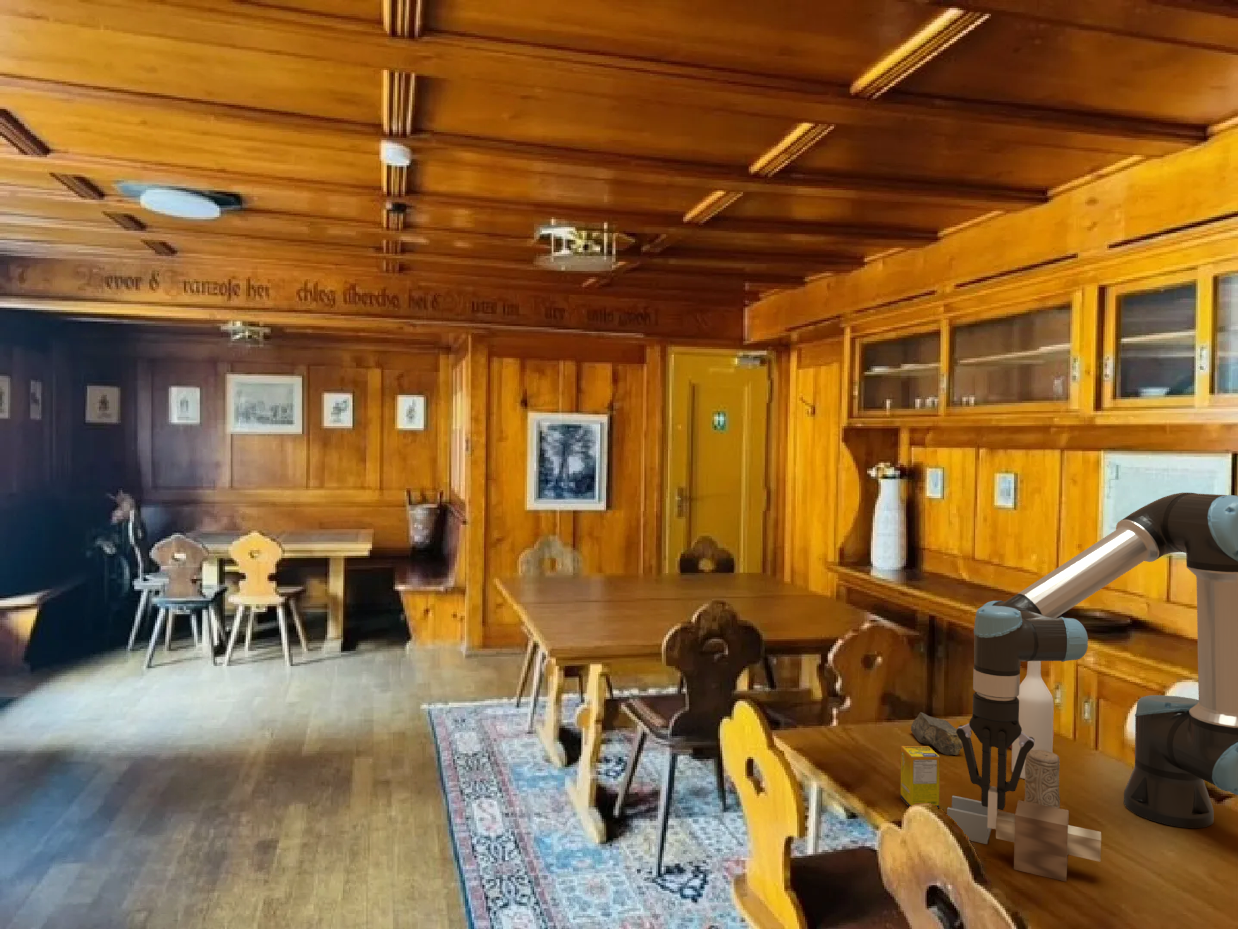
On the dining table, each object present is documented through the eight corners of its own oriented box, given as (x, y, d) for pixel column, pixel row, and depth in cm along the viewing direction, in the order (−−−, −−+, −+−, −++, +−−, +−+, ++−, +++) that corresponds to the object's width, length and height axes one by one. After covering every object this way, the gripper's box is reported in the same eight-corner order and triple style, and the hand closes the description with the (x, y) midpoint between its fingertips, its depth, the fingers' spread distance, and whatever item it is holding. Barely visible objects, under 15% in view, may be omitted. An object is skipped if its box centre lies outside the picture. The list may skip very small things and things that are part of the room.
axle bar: (1100, 852, 142) (1100, 832, 142) (1100, 861, 139) (1101, 840, 139) (997, 830, 150) (998, 810, 150) (995, 838, 147) (996, 818, 147)
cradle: (991, 829, 159) (991, 803, 159) (987, 844, 153) (987, 817, 153) (952, 820, 163) (952, 795, 163) (946, 835, 157) (947, 809, 157)
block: (1067, 863, 147) (1068, 810, 146) (1066, 881, 140) (1067, 826, 140) (1017, 852, 150) (1018, 800, 150) (1013, 869, 144) (1015, 815, 144)
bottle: (1013, 779, 184) (1017, 643, 183) (1009, 765, 192) (1012, 635, 191) (1054, 784, 181) (1058, 646, 181) (1048, 770, 189) (1051, 638, 188)
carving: (1060, 810, 168) (1062, 751, 168) (1058, 824, 162) (1060, 763, 162) (1025, 803, 172) (1027, 745, 171) (1022, 816, 165) (1023, 756, 165)
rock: (981, 737, 198) (948, 729, 195) (973, 764, 197) (940, 758, 194) (933, 712, 214) (902, 705, 211) (926, 737, 214) (895, 731, 211)
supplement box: (927, 797, 174) (928, 745, 174) (939, 810, 168) (940, 756, 168) (899, 797, 174) (900, 745, 173) (910, 810, 168) (911, 756, 167)
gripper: (1038, 695, 149) (1034, 826, 149) (959, 683, 155) (956, 809, 156) (1035, 706, 142) (1031, 843, 143) (953, 694, 149) (950, 825, 149)
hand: (992, 825), depth 149 cm, fingers closed
